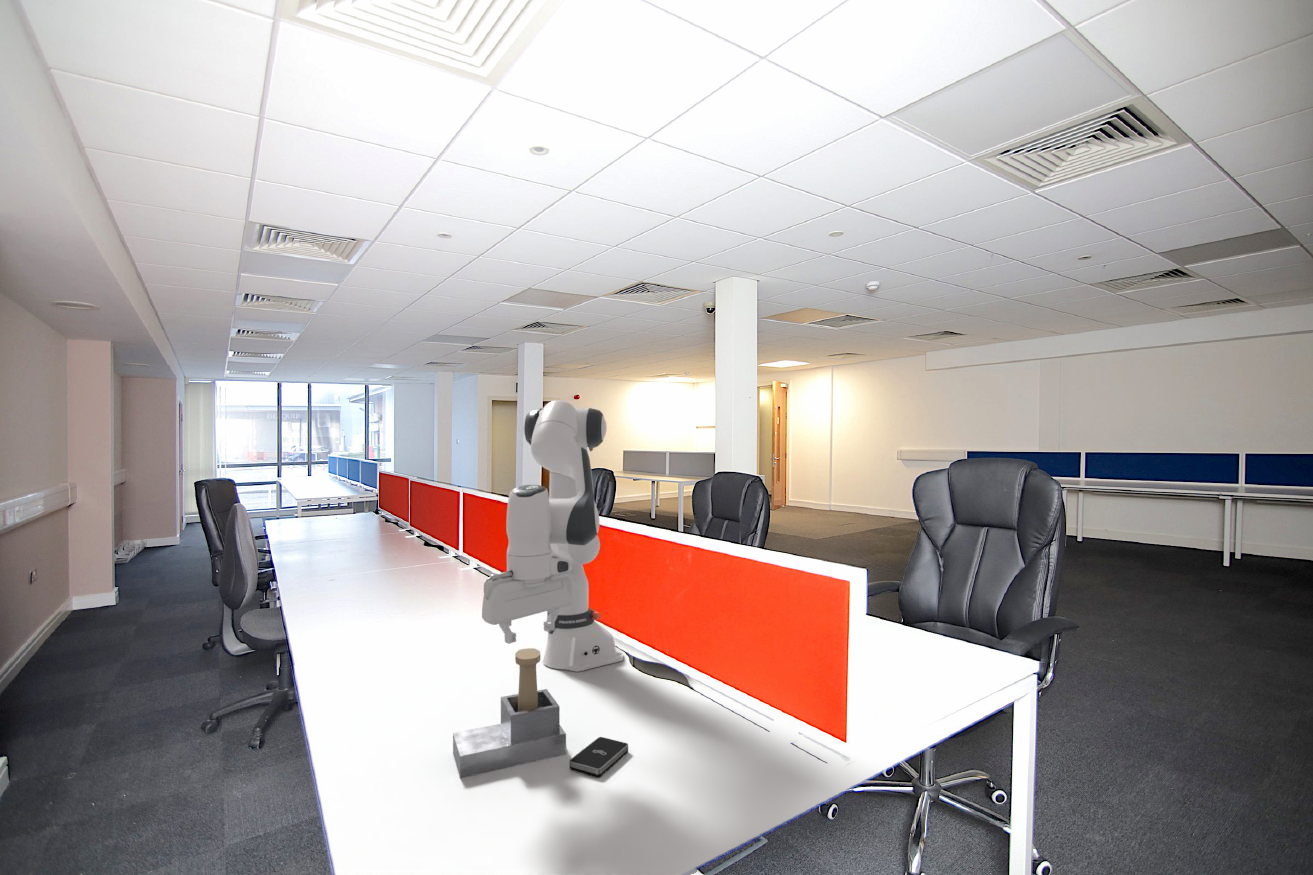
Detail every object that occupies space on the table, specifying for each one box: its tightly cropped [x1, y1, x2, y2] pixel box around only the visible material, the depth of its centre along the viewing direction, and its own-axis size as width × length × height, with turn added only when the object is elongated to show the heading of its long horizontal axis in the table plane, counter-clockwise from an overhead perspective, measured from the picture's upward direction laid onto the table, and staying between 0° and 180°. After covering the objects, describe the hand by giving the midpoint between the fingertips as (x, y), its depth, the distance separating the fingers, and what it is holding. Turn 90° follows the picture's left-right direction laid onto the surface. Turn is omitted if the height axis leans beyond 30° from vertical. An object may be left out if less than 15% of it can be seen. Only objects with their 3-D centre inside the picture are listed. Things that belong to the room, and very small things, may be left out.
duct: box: [452, 688, 567, 779], centre depth 121 cm, size 20×10×10 cm, turn 115°
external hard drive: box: [569, 736, 629, 779], centre depth 118 cm, size 7×11×2 cm, turn 153°
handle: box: [514, 647, 541, 712], centre depth 123 cm, size 5×6×15 cm
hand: (530, 636), depth 123 cm, fingers open, 8 cm apart
